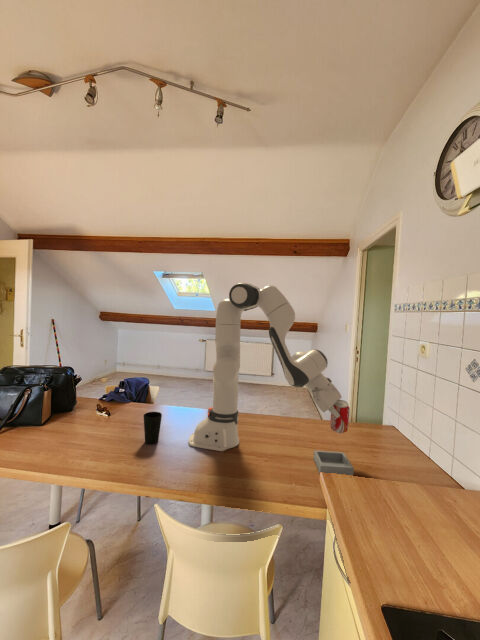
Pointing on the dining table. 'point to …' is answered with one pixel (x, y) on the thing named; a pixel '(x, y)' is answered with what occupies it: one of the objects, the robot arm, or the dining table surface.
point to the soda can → (341, 422)
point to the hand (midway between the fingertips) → (341, 414)
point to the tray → (333, 462)
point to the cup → (152, 427)
